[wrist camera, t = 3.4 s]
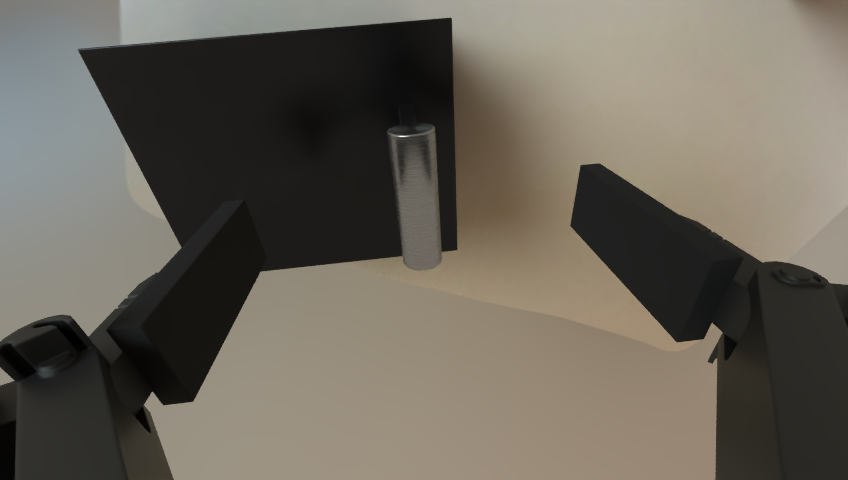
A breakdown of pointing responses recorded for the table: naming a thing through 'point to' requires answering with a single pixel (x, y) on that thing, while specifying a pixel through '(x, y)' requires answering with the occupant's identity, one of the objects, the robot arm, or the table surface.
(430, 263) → the box lid
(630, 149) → the table surface
